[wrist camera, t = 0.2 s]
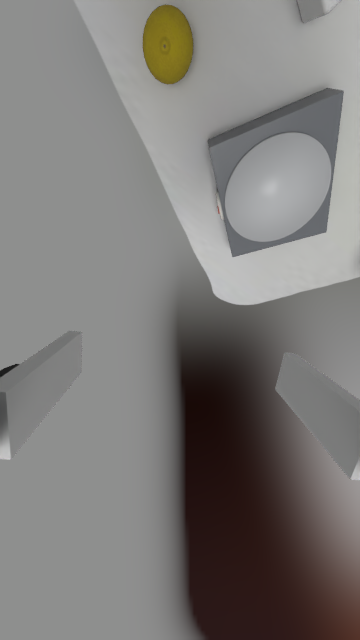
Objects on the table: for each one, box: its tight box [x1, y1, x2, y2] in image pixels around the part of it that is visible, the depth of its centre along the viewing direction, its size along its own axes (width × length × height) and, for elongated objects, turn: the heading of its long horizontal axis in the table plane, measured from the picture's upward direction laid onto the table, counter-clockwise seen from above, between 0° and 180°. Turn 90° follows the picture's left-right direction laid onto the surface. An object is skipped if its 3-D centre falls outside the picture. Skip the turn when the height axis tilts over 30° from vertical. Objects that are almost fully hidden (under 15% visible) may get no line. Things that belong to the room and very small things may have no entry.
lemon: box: [143, 5, 193, 84], centre depth 25 cm, size 6×6×8 cm
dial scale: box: [208, 88, 344, 257], centre depth 36 cm, size 18×17×6 cm
